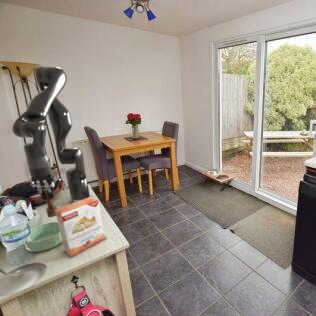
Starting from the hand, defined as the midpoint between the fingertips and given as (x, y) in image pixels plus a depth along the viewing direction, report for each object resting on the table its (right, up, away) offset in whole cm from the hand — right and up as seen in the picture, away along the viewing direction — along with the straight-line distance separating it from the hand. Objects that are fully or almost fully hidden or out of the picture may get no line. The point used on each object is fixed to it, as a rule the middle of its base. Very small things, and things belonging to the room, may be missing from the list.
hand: (48, 198), depth 105 cm
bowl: (+4, -18, -5) cm, 20 cm away
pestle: (0, -9, +3) cm, 9 cm away
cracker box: (+22, -20, -6) cm, 31 cm away
